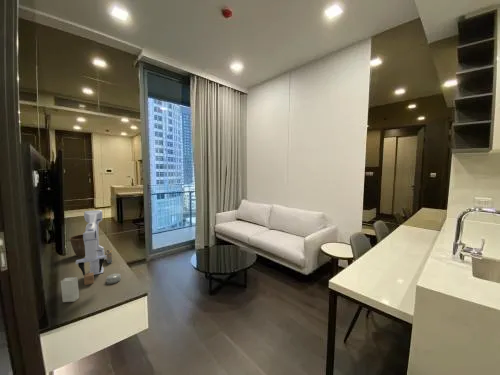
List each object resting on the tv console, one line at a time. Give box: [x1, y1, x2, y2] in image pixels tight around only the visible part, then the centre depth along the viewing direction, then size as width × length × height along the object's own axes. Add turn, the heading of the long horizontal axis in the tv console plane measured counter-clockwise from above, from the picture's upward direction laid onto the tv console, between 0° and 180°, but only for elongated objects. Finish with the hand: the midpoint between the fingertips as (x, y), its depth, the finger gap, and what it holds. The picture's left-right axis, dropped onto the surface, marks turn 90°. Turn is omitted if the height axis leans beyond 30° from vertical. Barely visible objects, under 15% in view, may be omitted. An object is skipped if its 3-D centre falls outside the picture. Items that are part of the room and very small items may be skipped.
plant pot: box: [69, 233, 85, 257], centre depth 183 cm, size 15×15×16 cm
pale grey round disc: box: [105, 273, 122, 285], centre depth 140 cm, size 8×8×3 cm
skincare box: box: [60, 276, 80, 303], centre depth 118 cm, size 6×4×12 cm
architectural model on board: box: [104, 249, 113, 264], centre depth 171 cm, size 11×3×10 cm, turn 42°
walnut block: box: [83, 272, 95, 286], centre depth 137 cm, size 4×4×6 cm
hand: (92, 273), depth 129 cm, fingers open, 7 cm apart
